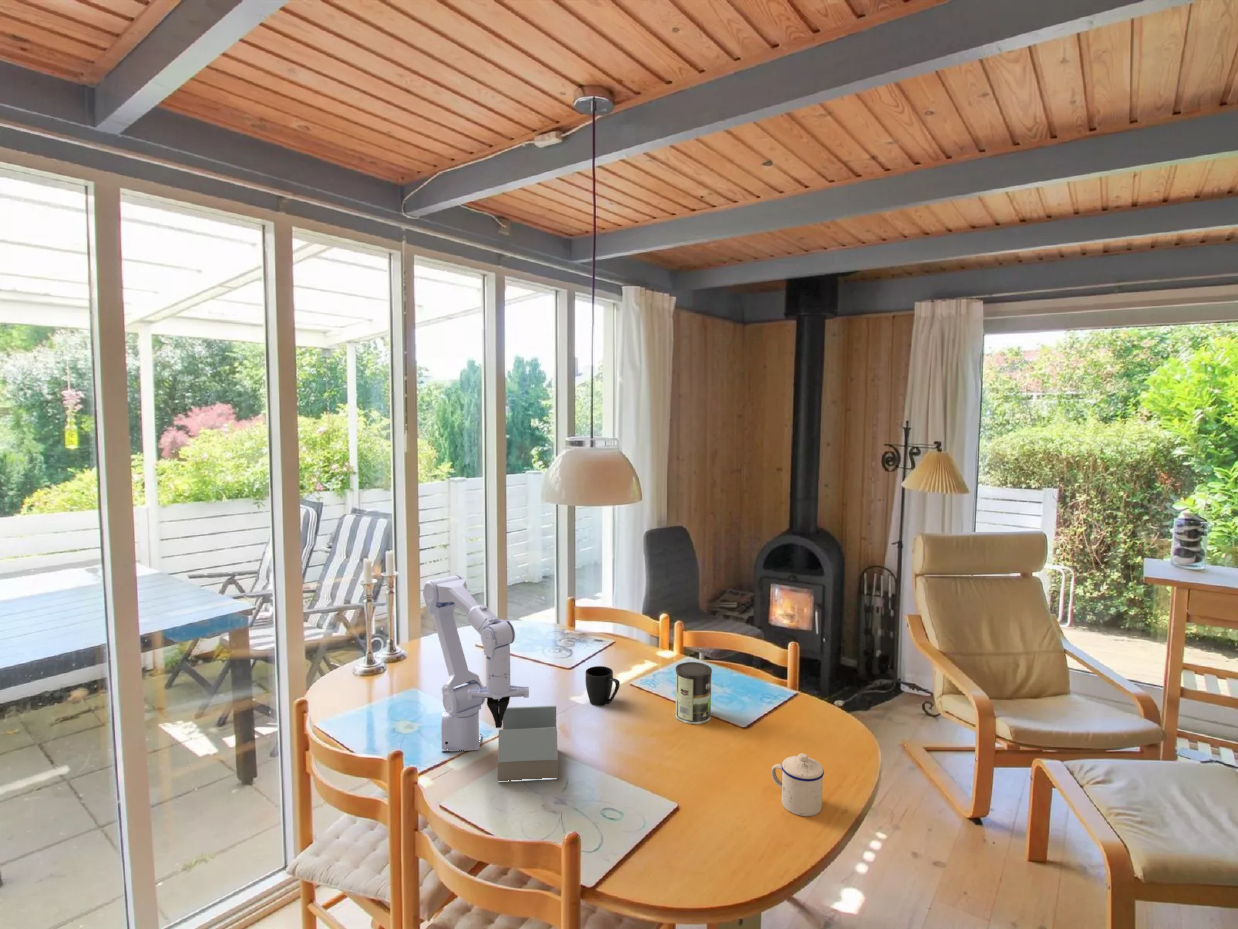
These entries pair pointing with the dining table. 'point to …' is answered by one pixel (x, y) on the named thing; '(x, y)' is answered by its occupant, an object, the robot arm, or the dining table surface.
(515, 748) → the near flap
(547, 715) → the far flap
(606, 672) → the mug
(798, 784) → the teacup with lid
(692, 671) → the coffee can
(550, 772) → the carton
